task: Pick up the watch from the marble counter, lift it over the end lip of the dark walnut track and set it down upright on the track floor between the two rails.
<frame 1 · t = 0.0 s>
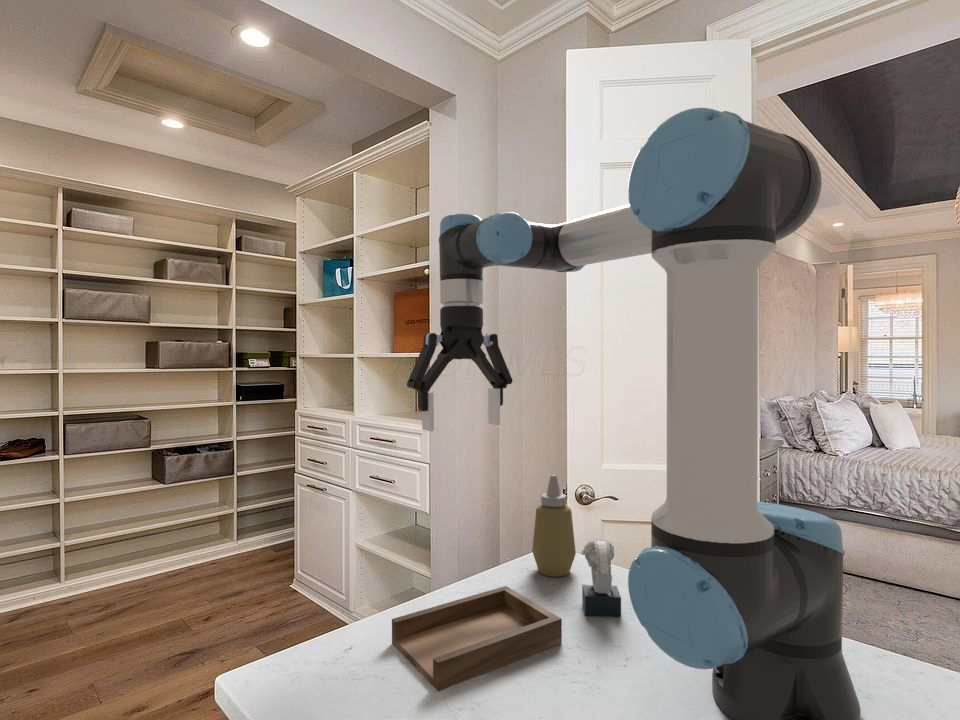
hand: (462, 427, 99), 28 cm above the counter, tool pointing down, fingers open, 13 cm apart
watch: (600, 611, 90), on the counter
walnut track: (476, 643, 80), on the counter
squeeze bottle: (553, 572, 105), on the counter
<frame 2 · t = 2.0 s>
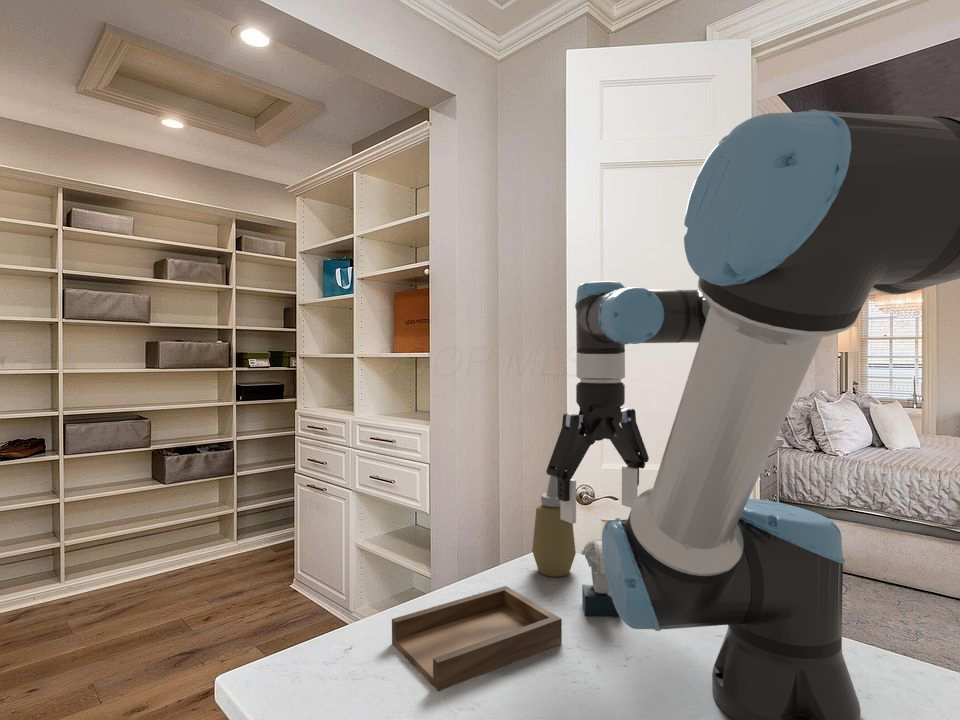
hand: (600, 513, 90), 15 cm above the counter, tool pointing down, fingers open, 13 cm apart
nothing on the counter moved.
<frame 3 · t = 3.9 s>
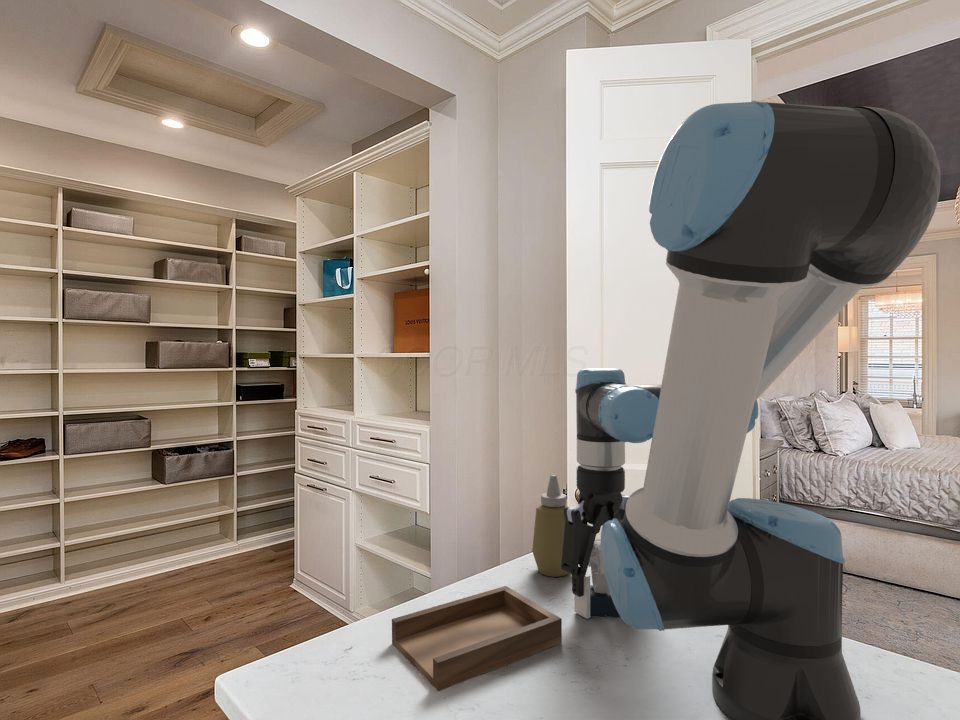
hand: (600, 607, 90), 0 cm above the counter, tool pointing down, fingers closed on watch, 7 cm apart
watch: (600, 611, 90), on the counter, touching gripper
everything else where it was.
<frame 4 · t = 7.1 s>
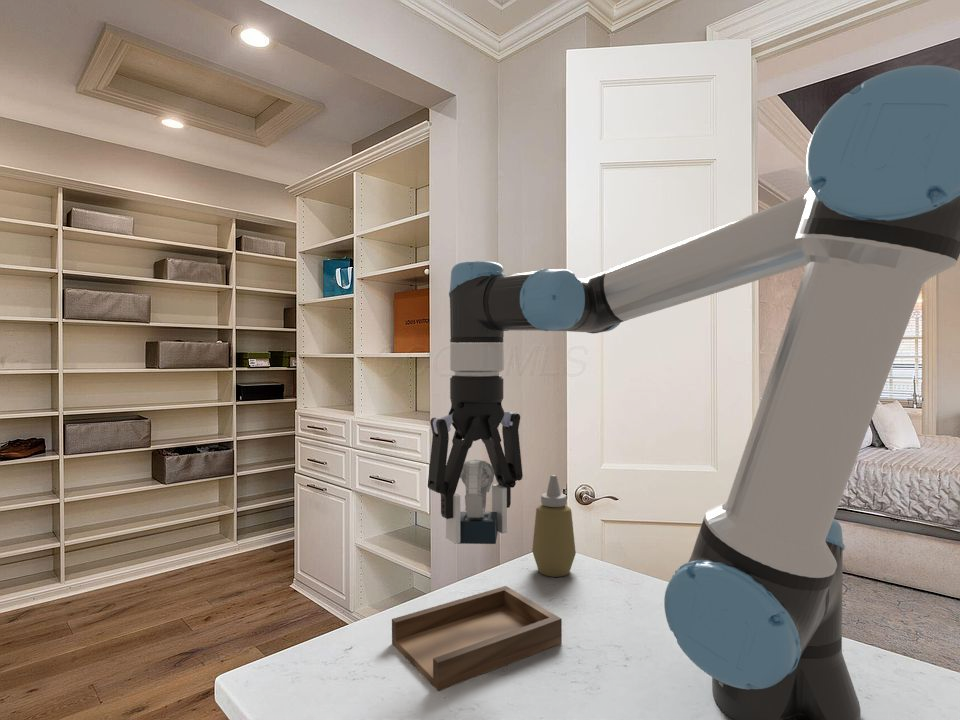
hand: (476, 535, 80), 15 cm above the counter, tool pointing down, fingers closed on watch, 7 cm apart
watch: (477, 539, 80), point 15 cm above the counter, touching gripper
everything else where it was.
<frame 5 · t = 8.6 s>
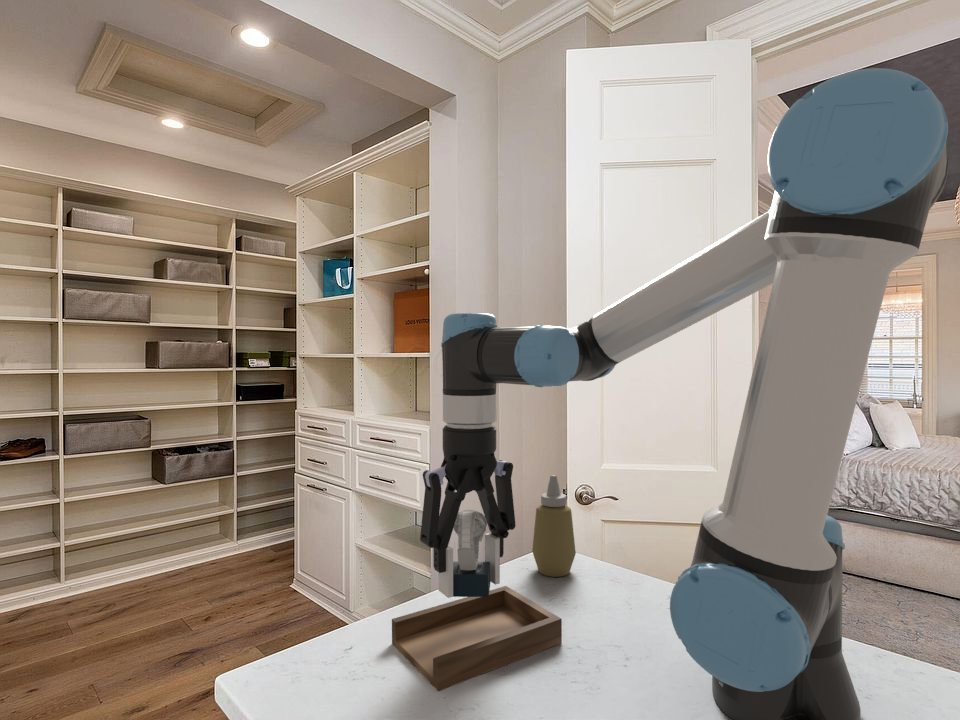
hand: (469, 586, 79), 8 cm above the counter, tool pointing down, fingers closed on watch, 7 cm apart
watch: (469, 590, 79), point 8 cm above the counter, touching gripper
everything else where it was.
when the fingers open (2 cm above the counter, at t = 10.0 s): watch drops 1 cm, resting on walnut track.
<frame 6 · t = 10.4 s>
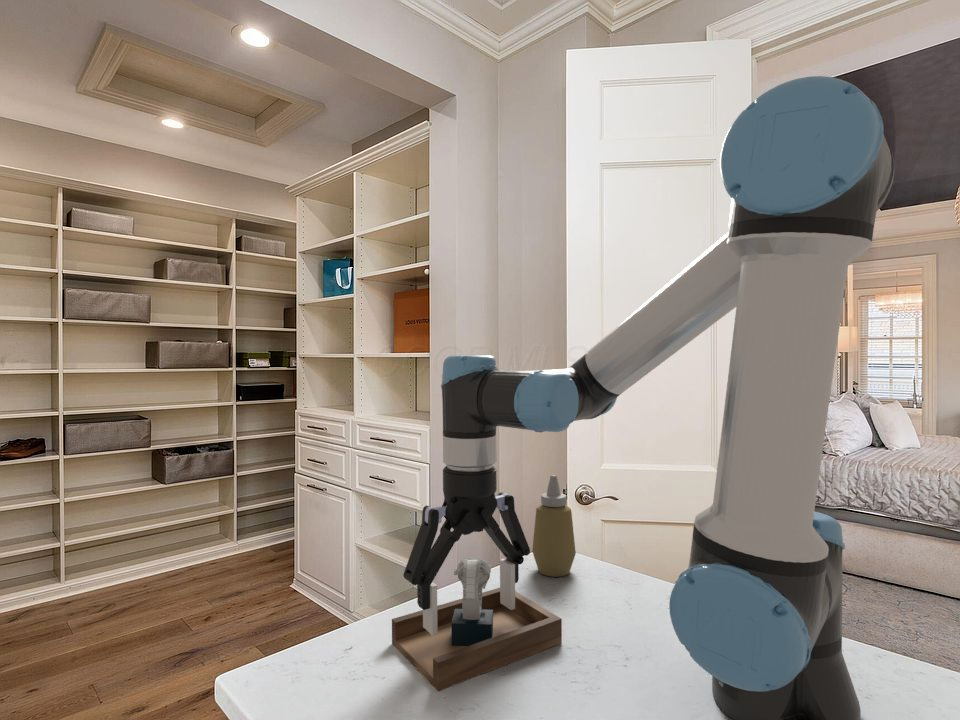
hand: (470, 617, 79), 4 cm above the counter, tool pointing down, fingers open, 12 cm apart
watch: (472, 639, 79), point 1 cm above the counter, touching walnut track
everything else where it was.
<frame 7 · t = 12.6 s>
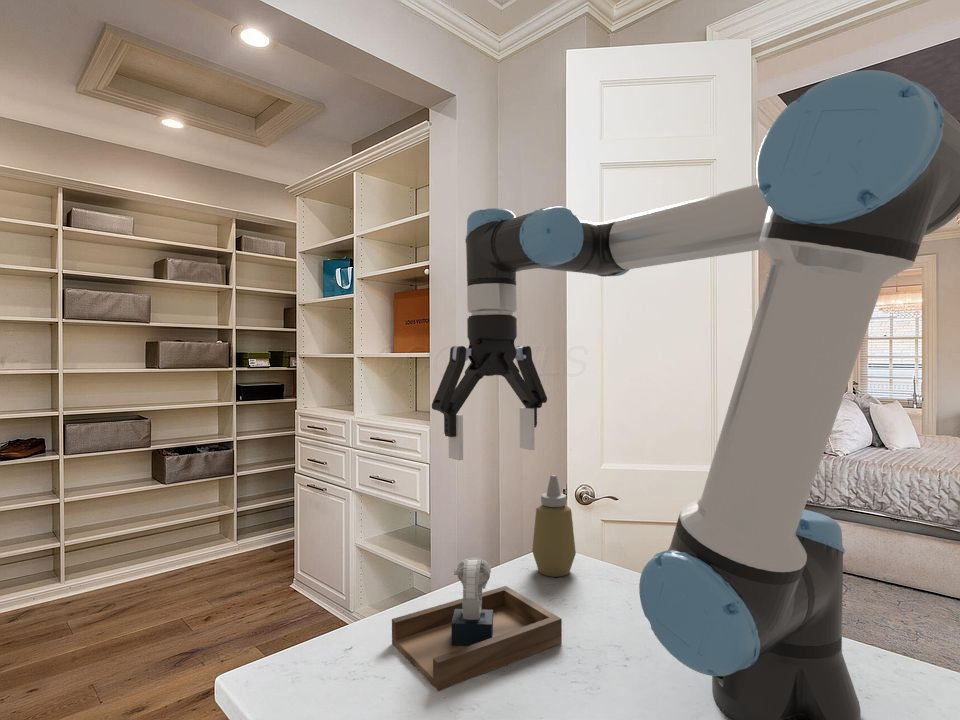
hand: (493, 453, 86), 26 cm above the counter, tool pointing down, fingers open, 13 cm apart
nothing on the counter moved.
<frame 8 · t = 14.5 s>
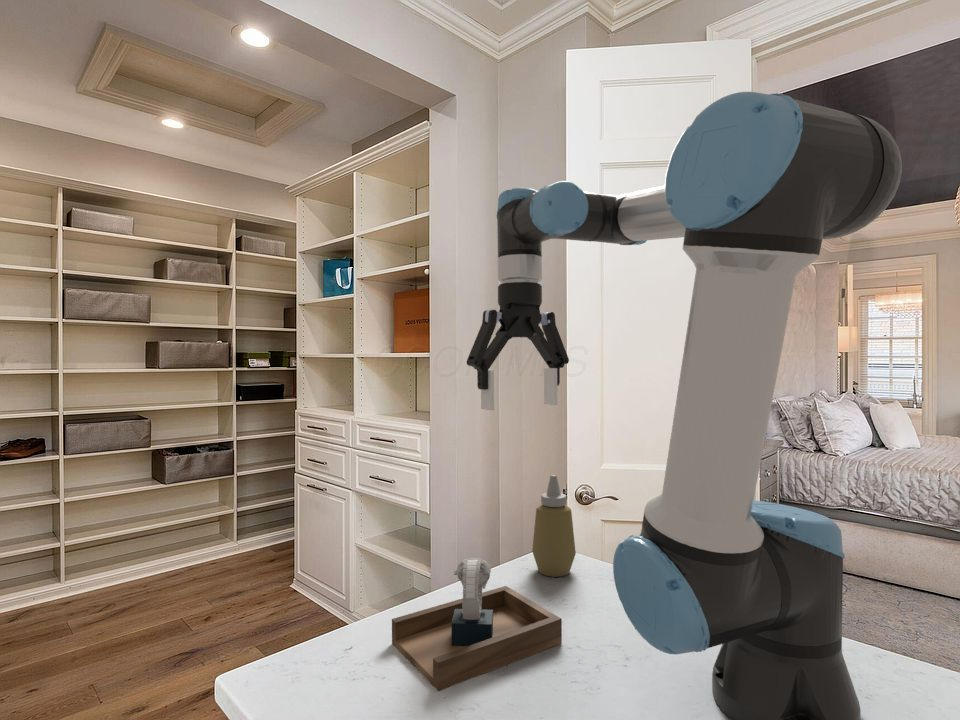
hand: (520, 407, 97), 32 cm above the counter, tool pointing down, fingers open, 13 cm apart
nothing on the counter moved.
at the end: watch inside the target area on the walnut track (0.2 cm from its centre), point 0.8 cm above the walnut track's base; watch tilted 0°; the gripper is holding nothing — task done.
